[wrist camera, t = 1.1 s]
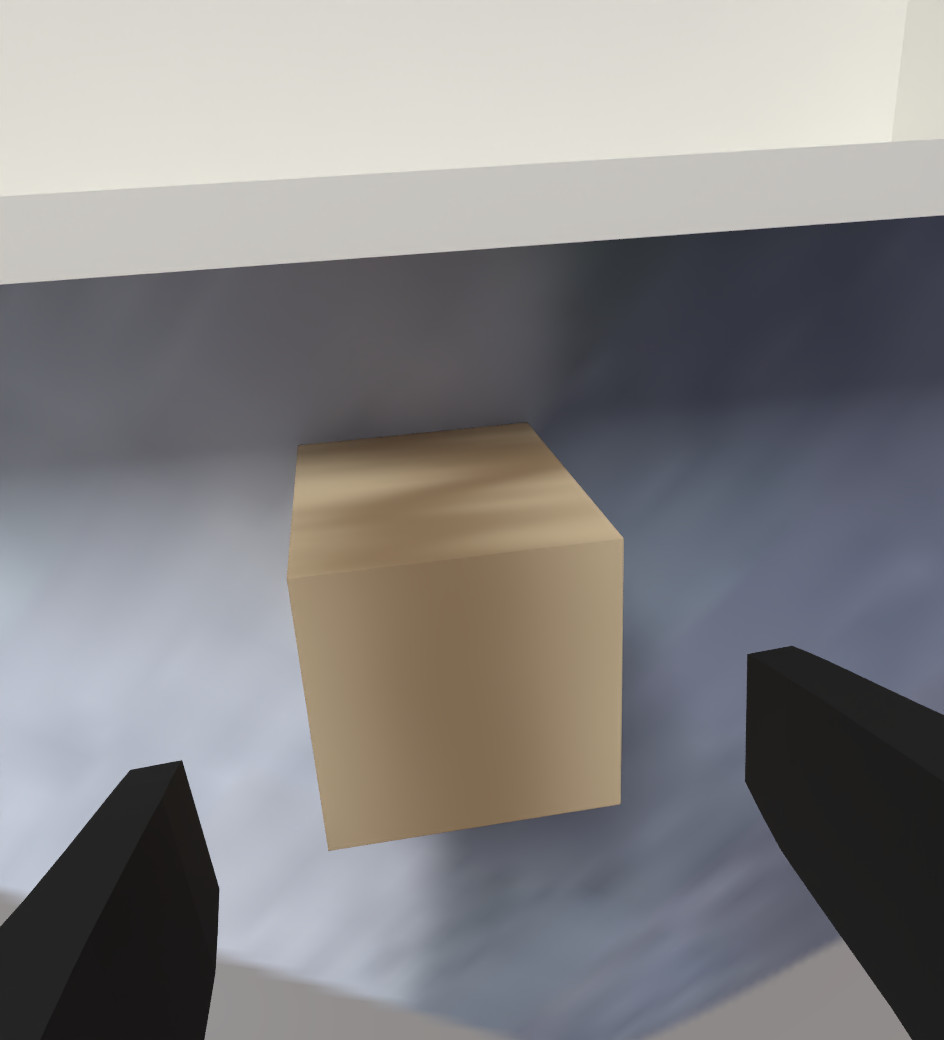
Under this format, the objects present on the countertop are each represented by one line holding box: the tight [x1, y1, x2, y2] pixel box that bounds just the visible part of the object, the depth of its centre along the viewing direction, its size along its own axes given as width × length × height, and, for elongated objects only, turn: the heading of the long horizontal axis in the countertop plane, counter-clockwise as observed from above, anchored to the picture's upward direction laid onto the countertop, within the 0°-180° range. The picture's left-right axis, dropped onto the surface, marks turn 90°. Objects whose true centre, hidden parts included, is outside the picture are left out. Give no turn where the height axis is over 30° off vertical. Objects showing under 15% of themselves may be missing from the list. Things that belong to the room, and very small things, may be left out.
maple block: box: [287, 422, 624, 851], centre depth 15 cm, size 4×4×6 cm
